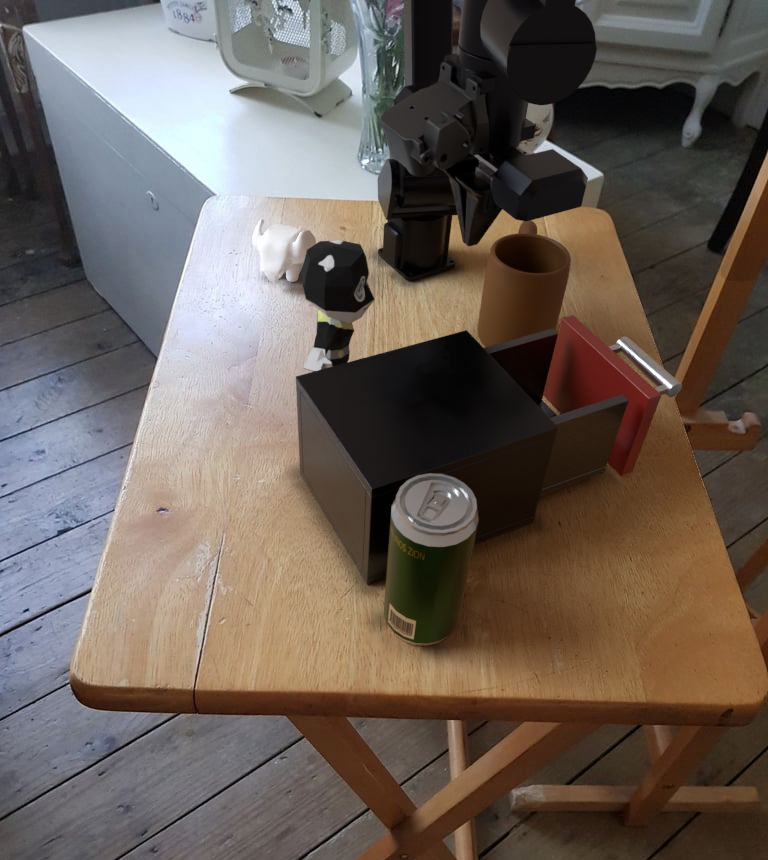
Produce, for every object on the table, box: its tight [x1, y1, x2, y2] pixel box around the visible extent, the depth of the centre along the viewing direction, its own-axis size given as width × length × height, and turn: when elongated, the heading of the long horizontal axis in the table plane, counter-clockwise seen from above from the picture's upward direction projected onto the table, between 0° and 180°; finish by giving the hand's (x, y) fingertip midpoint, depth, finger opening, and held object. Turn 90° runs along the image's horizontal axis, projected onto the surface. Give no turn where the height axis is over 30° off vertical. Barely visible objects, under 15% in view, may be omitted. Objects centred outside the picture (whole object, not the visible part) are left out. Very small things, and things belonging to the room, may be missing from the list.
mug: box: [477, 220, 572, 348], centre depth 79 cm, size 12×8×9 cm, turn 173°
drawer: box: [483, 314, 683, 497], centre depth 66 cm, size 18×11×8 cm, turn 117°
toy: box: [300, 239, 375, 372], centre depth 68 cm, size 13×6×15 cm, turn 168°
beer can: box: [383, 473, 479, 647], centre depth 53 cm, size 5×5×12 cm
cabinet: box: [295, 329, 558, 586], centre depth 62 cm, size 15×13×10 cm
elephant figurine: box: [251, 218, 317, 284], centre depth 85 cm, size 7×8×6 cm
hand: (470, 243), depth 70 cm, fingers closed
